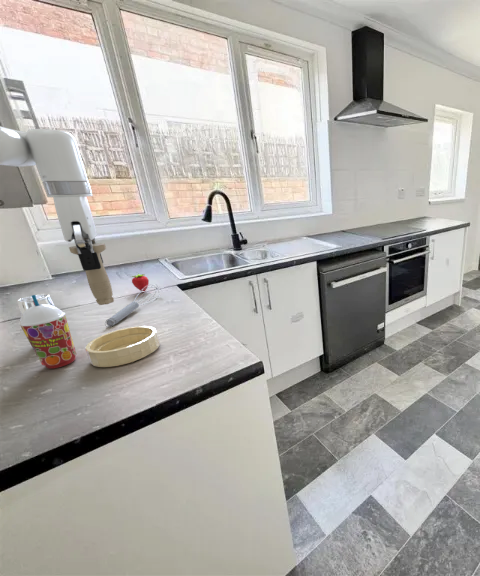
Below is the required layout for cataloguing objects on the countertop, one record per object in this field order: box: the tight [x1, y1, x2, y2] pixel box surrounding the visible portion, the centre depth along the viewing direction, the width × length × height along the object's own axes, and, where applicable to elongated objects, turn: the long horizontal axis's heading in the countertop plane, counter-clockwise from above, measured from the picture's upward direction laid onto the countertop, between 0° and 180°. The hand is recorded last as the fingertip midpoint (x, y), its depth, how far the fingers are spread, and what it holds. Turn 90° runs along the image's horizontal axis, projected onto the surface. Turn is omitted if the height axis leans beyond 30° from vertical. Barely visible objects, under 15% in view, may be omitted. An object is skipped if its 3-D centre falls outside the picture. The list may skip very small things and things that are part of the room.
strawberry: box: [130, 272, 150, 292], centre depth 139 cm, size 6×8×10 cm
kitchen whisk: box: [104, 283, 162, 328], centre depth 119 cm, size 6×34×6 cm, turn 9°
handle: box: [68, 242, 115, 306], centre depth 77 cm, size 5×6×15 cm
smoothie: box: [18, 294, 77, 369], centre depth 82 cm, size 8×8×20 cm
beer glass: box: [16, 293, 55, 315], centre depth 94 cm, size 7×7×15 cm
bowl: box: [84, 325, 161, 368], centre depth 88 cm, size 16×16×5 cm
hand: (93, 266), depth 76 cm, fingers closed on handle, 5 cm apart
